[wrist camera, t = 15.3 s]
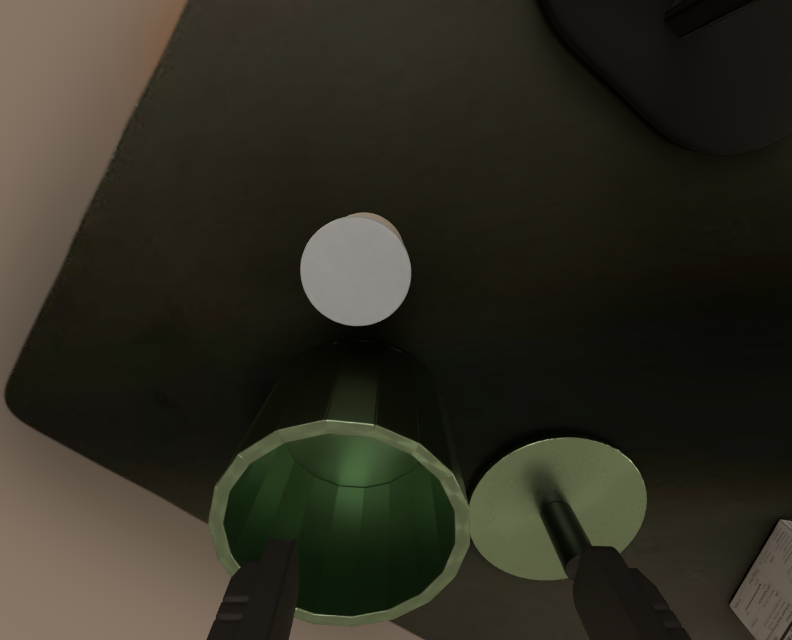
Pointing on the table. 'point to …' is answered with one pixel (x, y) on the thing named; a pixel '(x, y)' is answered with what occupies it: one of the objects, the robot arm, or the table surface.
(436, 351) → the table surface
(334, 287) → the tub
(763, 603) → the light bulb box
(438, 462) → the wastebin
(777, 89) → the desk fan
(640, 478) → the bin lid
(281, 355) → the table surface
